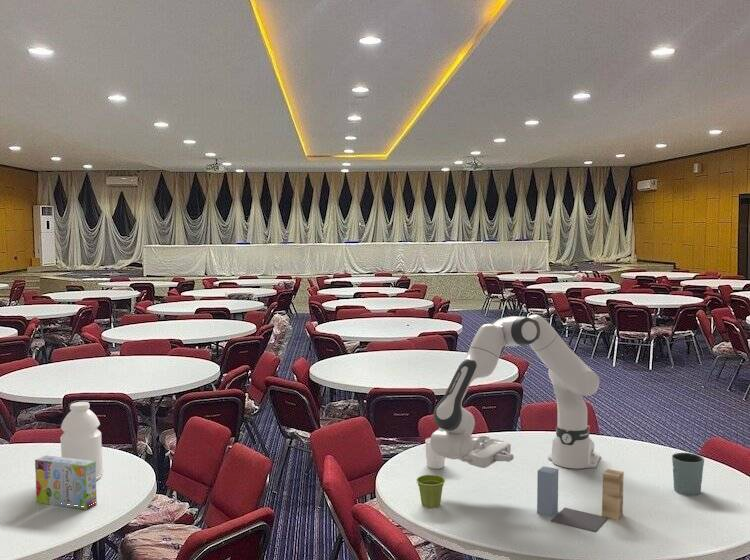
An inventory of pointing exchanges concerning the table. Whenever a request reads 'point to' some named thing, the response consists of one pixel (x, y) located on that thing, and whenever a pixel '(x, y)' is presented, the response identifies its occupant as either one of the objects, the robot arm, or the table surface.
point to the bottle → (82, 436)
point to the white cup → (433, 457)
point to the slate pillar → (547, 491)
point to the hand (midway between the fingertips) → (511, 458)
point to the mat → (579, 519)
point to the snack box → (66, 482)
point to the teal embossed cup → (687, 473)
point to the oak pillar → (612, 494)
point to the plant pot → (430, 490)
